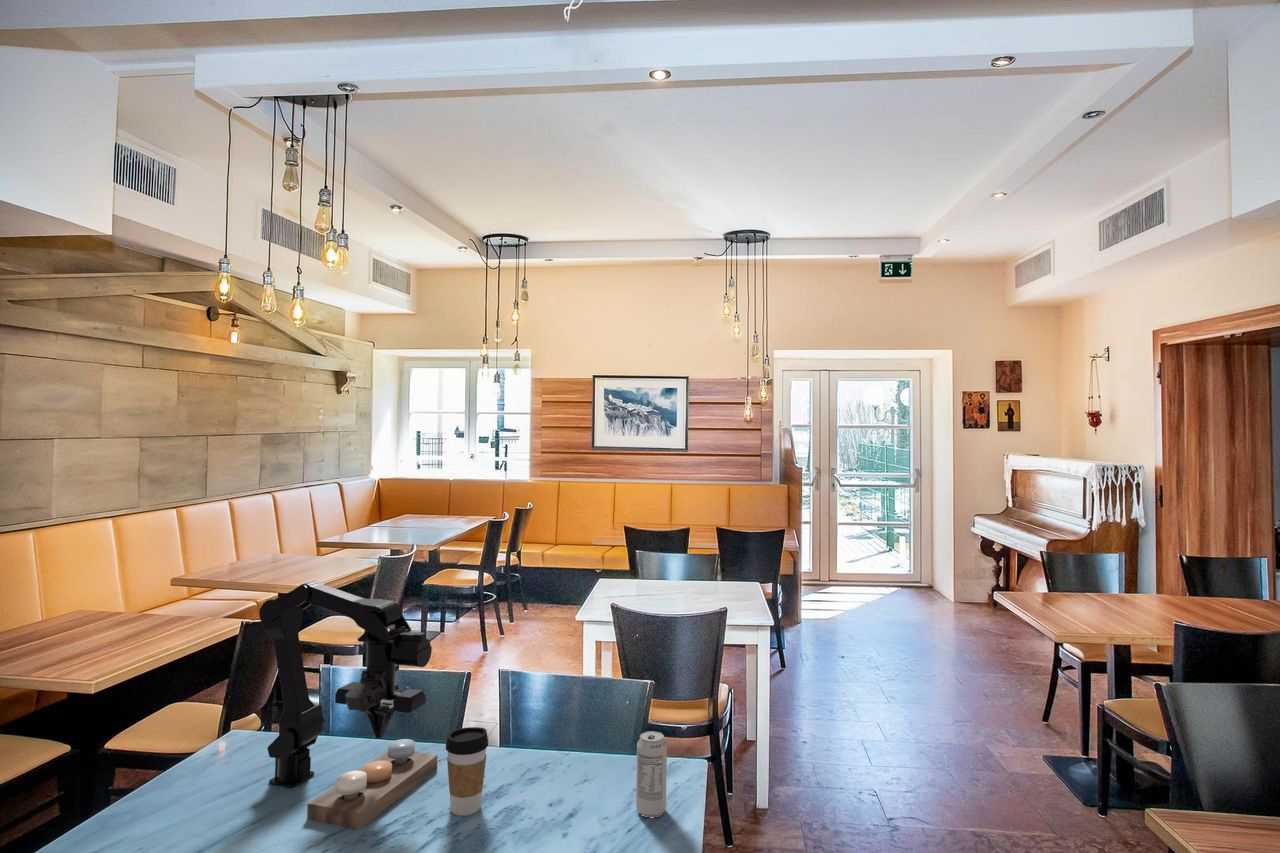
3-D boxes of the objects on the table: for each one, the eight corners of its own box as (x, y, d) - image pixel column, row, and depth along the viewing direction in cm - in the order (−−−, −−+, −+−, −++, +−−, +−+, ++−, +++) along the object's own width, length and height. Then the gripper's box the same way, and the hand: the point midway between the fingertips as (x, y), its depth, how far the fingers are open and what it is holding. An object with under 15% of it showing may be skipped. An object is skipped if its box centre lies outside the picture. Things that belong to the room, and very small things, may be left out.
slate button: (381, 771, 148) (382, 747, 148) (397, 760, 153) (398, 737, 154) (403, 774, 147) (404, 751, 147) (419, 763, 152) (419, 740, 152)
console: (307, 819, 131) (307, 803, 132) (391, 761, 156) (391, 747, 157) (359, 829, 128) (359, 813, 128) (437, 768, 153) (437, 755, 153)
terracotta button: (356, 795, 140) (357, 770, 141) (374, 782, 146) (375, 758, 146) (379, 799, 139) (380, 774, 139) (396, 786, 144) (397, 762, 144)
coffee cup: (476, 821, 131) (477, 743, 132) (436, 816, 133) (438, 738, 134) (493, 800, 140) (495, 726, 140) (456, 795, 141) (457, 722, 142)
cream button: (329, 807, 133) (330, 781, 133) (349, 793, 138) (349, 769, 138) (353, 812, 131) (354, 786, 131) (372, 798, 137) (373, 773, 137)
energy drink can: (669, 807, 138) (670, 732, 138) (660, 822, 132) (661, 744, 133) (641, 801, 140) (642, 728, 140) (631, 816, 134) (633, 739, 135)
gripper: (316, 670, 138) (314, 748, 138) (395, 679, 133) (393, 760, 132) (354, 654, 149) (352, 726, 148) (428, 662, 144) (426, 737, 143)
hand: (379, 737), depth 143 cm, fingers closed
